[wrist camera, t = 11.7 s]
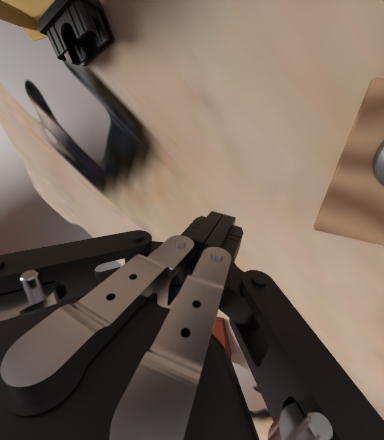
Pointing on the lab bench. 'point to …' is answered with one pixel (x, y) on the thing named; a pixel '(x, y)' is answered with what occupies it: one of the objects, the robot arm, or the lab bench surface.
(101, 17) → the end cap
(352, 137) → the levelling base
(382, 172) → the cam foot
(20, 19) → the hourglass
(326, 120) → the lab bench surface
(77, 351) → the robot arm
